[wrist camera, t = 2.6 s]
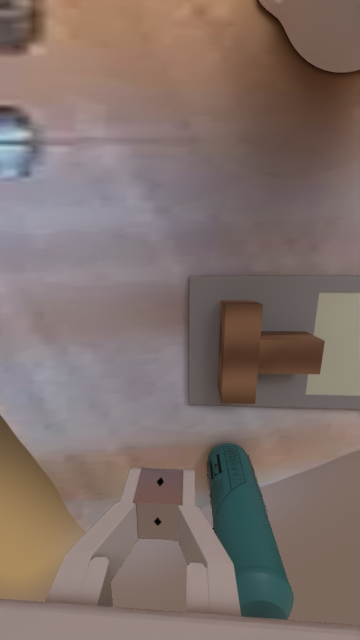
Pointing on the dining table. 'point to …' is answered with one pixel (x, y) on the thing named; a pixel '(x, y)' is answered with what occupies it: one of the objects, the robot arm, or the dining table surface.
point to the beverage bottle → (247, 535)
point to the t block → (259, 351)
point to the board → (281, 315)
